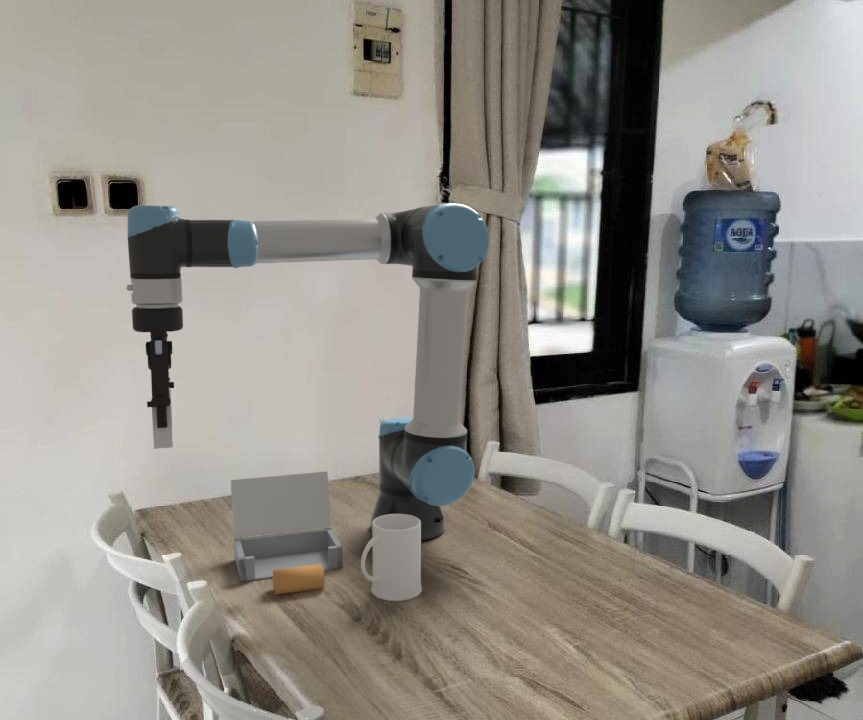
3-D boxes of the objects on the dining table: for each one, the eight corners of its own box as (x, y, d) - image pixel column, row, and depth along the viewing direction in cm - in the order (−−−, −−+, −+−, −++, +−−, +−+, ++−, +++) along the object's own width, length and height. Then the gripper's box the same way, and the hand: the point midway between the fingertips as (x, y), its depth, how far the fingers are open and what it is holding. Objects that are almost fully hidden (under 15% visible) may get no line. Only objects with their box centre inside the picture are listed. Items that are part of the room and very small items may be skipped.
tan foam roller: (319, 582, 132) (319, 560, 131) (324, 591, 128) (324, 569, 128) (273, 588, 129) (272, 566, 129) (276, 598, 126) (275, 575, 125)
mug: (374, 612, 121) (374, 540, 119) (344, 593, 127) (344, 524, 126) (432, 591, 128) (433, 523, 127) (401, 575, 135) (401, 509, 133)
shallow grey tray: (331, 547, 147) (331, 527, 146) (343, 568, 137) (342, 547, 137) (234, 559, 141) (234, 539, 140) (240, 582, 131) (239, 559, 131)
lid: (331, 526, 146) (329, 526, 147) (327, 471, 147) (326, 471, 148) (233, 537, 140) (233, 537, 141) (230, 480, 141) (230, 479, 143)
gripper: (134, 300, 131) (141, 422, 134) (127, 312, 108) (135, 459, 111) (181, 299, 134) (186, 419, 137) (183, 311, 110) (190, 454, 113)
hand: (163, 437), depth 124 cm, fingers open, 13 cm apart
